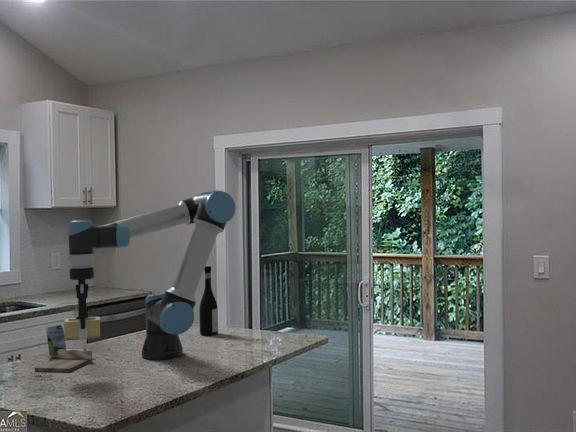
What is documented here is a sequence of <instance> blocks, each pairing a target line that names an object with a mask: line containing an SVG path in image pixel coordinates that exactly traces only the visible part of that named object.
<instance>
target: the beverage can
mask: <svg viewBox="0 0 576 432" xmlns="http://www.w3.org/2000/svg"><path fill="white" fill-rule="evenodd" d="M45 331H46V339H47V346H48V354H49V356H50V357H51V358H55V357H56V358H58V350H59V349H64V348H66V349H67V347H66V346H67V345H66V341H64V326H62V324H55V325H54V324H53V325H50V326H47V327H46V330H45Z"/></svg>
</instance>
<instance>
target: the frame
mask: <svg viewBox="0 0 576 432" xmlns="http://www.w3.org/2000/svg"><path fill="white" fill-rule="evenodd" d="M63 330H64V341H65V342H66V341H78V340H81V341H82V339H79V328H78V319H76V317H73V318H72V317H70V318H64V321H63ZM87 335H88V338H87V339H86V340H90V339H94V340H95V339H100V338H101V318H100V316H89V317H88V316H87Z"/></svg>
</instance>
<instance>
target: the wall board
mask: <svg viewBox="0 0 576 432" xmlns="http://www.w3.org/2000/svg"><path fill="white" fill-rule="evenodd" d="M92 362H93V349H87V348H83V349H76V348H75V349H73V348H71V349H67V347H66V348H64V349H59V350H58V356H57V357H56V358H54V359H52V360H50V361H47V362H45V363H43V364H41V365H38V366H35V367H34V372H45V373H46V372H49V373H50V372H51V373H54V372H55V373H72V372H73V371H76V370H78V369H80V368H82V367H83V366H86V365H88V364H90V363H92Z"/></svg>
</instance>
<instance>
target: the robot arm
mask: <svg viewBox="0 0 576 432" xmlns="http://www.w3.org/2000/svg"><path fill="white" fill-rule="evenodd" d="M235 213H236V202H235V200H234V198H233V197H232V196H231V194H229V193H228V192H227V191H224V190H223V191H222V190H212V191H206V192H202V193H199V194H196V195H194V196H192V197H189V198H186V199H183V200H180V201H179V203H178V204H175V205H173V206H168V207H164V208H160V209H157V210H153V211H149V212H147V213H143V214H139V215H135V216H131V217H128V218H125V219H120V220H116V221H114V222H110V223H107V224H100V225H94V223H93V220H89V219H88V220H72V221H69V224H68V251H69V252H68V254H69V255H68V256H69V257H67V259H66V260H67V261H69V267H70V268H69V279H70V280H72V281H78V282H77V284H75V292H76V299H77V302H78V303H77V304H78V305H77V306H78V315H77V316H76V317H75V318H76V319H78V328H79V339H81V340H88V339H87V338H88V335H87V317H88V315H90V312H89V311H88V309H87V299H88V297H89V295H88V292H89V291H88V290H89V283H86V280H92V279H93V278H94V277H95V276H94V274H95V273H94V267H93V266H94V263H95V262H94V261H95V260H94V249H112V248H113V249H115V248H119V249H120V248H126V247H128V246H129V245H130V242H131V240H132V239H135V238H138V237H142V236H146V235H149V234H152V233H155V232H160V231H163V230H166V229H169V228H172V227H176V226H179V225H183V224H184V225H187V226H188V225H193V224H194V225H195V227H194V229H193V231H192V235H191V237H190V239H189V243H188V245H187V248H186V250H185V252H184V255H183V258H182V259H181V263H180V265H179V268H178V270H177V272H176V275H175V278H174V280H173V282H172V286H171V287H170V288H168V289H167V290H165V292H164V293H159V294H149V295H147V296H146V297H145V303H144V305H145V338H144V342H143V344H142V348H141V358H143V359H146V360H167V359H169V360H170V359H174V358H178V357H181V356H183V355H184V353H183V352H184V348H183V344H182V342H181V340H180V337H179V335H181V334H184V333H186V332H187V331H189V330H190V328H191V327H192V326H193V324H194V321H195V312H194V309H195V306H196V303H197V300H196V297H195V294H196V292H197V290H198V289H197V288H198V287H199V284H200V282H201V280H202V279H201V278H202V276H203V273H204V272H205V270H204V269H205V266H207V263H208V260H209V257H210V255H211V252H212V250H213V248H214V244H215V243H216V240H217V236H218V235H219V234H221V233H223V232H224V231H225V228H226V225H227V224H228V223H227V222H230V221H231V219H233V217H234V216H235Z"/></svg>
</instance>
